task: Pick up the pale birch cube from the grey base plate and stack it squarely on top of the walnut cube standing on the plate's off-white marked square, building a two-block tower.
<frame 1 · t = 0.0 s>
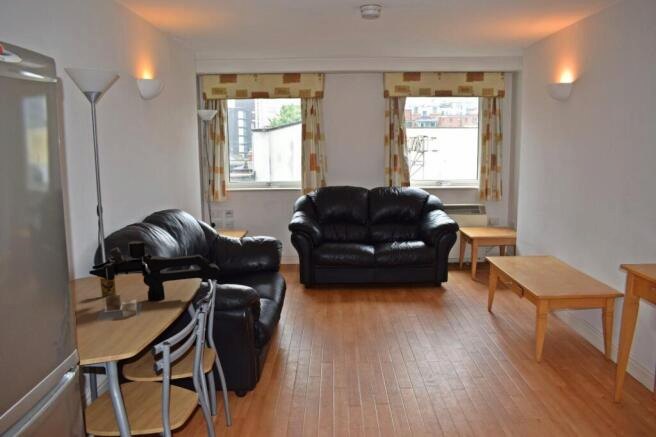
hand: (90, 269, 228), 17 cm above the table, tool horizontal, fingers open, 9 cm apart
grey base plate: (120, 313, 222), on the table
walnut block: (114, 308, 226), point 1 cm above the table, touching grey base plate
birch block: (130, 313, 218), point 1 cm above the table, touching grey base plate
condiment: (108, 296, 248), on the table
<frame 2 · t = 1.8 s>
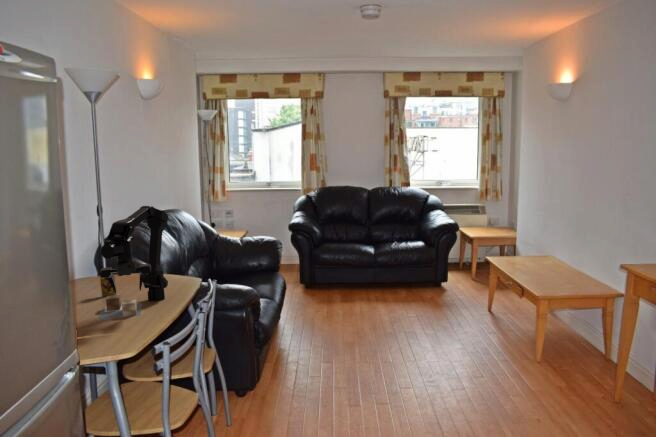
hand: (128, 291, 217), 10 cm above the table, tool pointing down, fingers open, 9 cm apart
nothing on the table moved.
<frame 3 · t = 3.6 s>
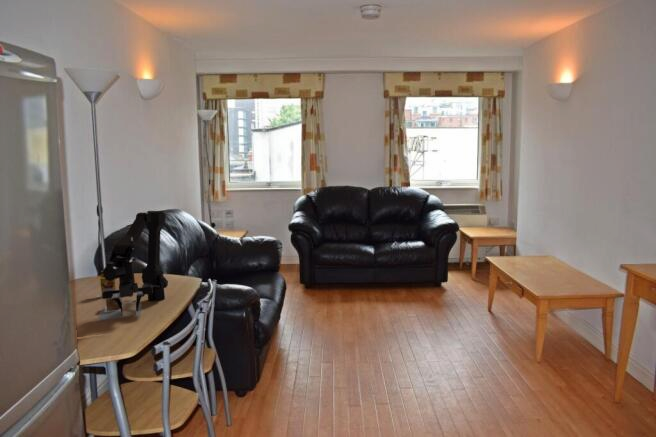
hand: (130, 312, 218), 2 cm above the table, tool pointing down, fingers closed on birch block, 5 cm apart
birch block: (130, 313, 218), point 1 cm above the table, touching grey base plate, gripper
everything else where it was.
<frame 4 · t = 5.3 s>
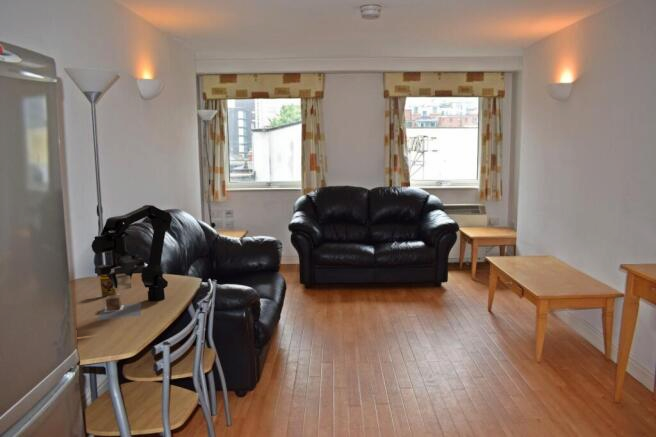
hand: (122, 286, 219), 11 cm above the table, tool pointing down, fingers closed on birch block, 5 cm apart
birch block: (122, 288, 219), point 11 cm above the table, touching gripper
everything else where it was.
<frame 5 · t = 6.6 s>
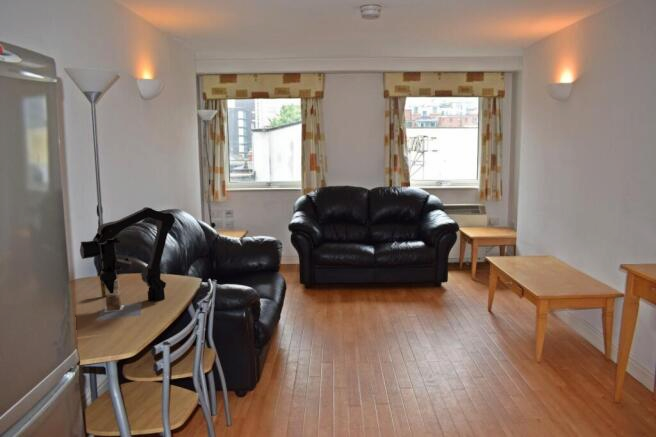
hand: (112, 291, 225), 8 cm above the table, tool pointing down, fingers closed on birch block, 5 cm apart
birch block: (112, 293, 225), point 7 cm above the table, touching gripper
everything else where it was.
when the fingers open (8 cm above the table, at t = 7.3 s): birch block drops 1 cm, resting on walnut block.
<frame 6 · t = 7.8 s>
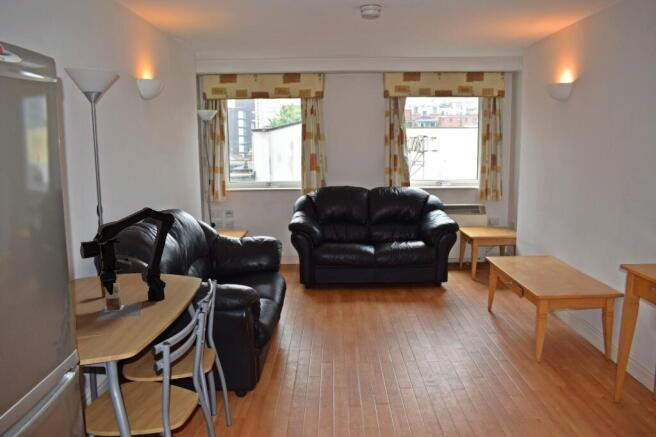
hand: (112, 291, 225), 8 cm above the table, tool pointing down, fingers open, 9 cm apart
walnut block: (114, 308, 226), point 1 cm above the table, touching birch block, grey base plate
birch block: (113, 296, 225), point 6 cm above the table, touching walnut block
everything else where it was.
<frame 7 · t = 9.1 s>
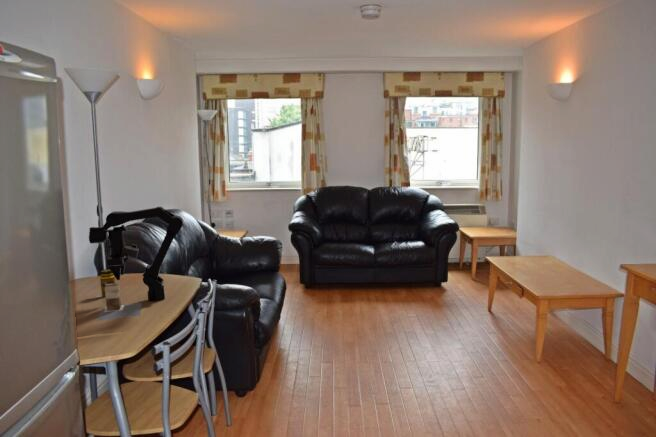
hand: (120, 277, 232), 12 cm above the table, tool pointing down, fingers open, 9 cm apart
nothing on the table moved.
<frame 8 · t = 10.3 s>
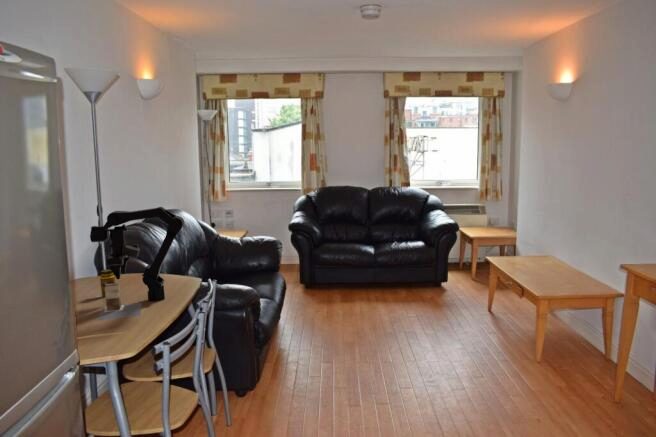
hand: (121, 276, 233), 12 cm above the table, tool pointing down, fingers open, 9 cm apart
nothing on the table moved.
at the end: birch block 0.0 cm off-centre on the walnut block, point 5.0 cm above the walnut block's base; birch block tilted 0°; walnut block moved 0.0 cm from its start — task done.
